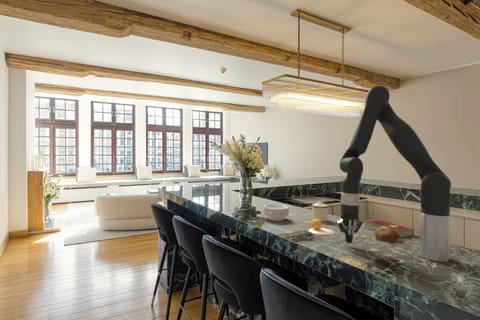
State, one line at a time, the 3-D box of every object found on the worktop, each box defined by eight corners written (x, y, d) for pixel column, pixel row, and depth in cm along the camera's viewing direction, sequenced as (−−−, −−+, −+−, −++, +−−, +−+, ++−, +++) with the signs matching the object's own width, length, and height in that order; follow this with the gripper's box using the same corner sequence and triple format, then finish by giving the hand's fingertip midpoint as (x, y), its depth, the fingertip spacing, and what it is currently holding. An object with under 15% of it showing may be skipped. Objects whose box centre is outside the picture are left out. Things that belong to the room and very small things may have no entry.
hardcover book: (378, 226, 160) (378, 218, 160) (413, 236, 141) (414, 228, 141) (362, 228, 155) (362, 220, 155) (396, 239, 136) (397, 230, 136)
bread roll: (381, 242, 140) (374, 227, 142) (403, 237, 134) (395, 221, 136) (376, 247, 133) (369, 231, 135) (399, 242, 127) (391, 225, 129)
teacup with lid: (330, 221, 168) (331, 201, 168) (318, 222, 164) (319, 202, 164) (317, 216, 179) (318, 198, 179) (305, 218, 175) (306, 199, 175)
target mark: (338, 231, 146) (338, 230, 146) (330, 237, 136) (330, 236, 136) (313, 227, 154) (313, 226, 154) (304, 232, 143) (304, 232, 143)
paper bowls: (290, 222, 164) (290, 208, 163) (264, 221, 164) (264, 208, 163) (286, 216, 179) (286, 204, 179) (262, 216, 179) (262, 203, 179)
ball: (320, 221, 152) (325, 228, 148) (311, 226, 153) (316, 233, 148) (316, 215, 150) (321, 221, 145) (307, 220, 150) (312, 227, 145)
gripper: (343, 205, 117) (341, 246, 117) (368, 204, 121) (367, 244, 121) (331, 202, 124) (330, 241, 124) (356, 201, 128) (355, 238, 128)
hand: (348, 242), depth 123 cm, fingers closed
